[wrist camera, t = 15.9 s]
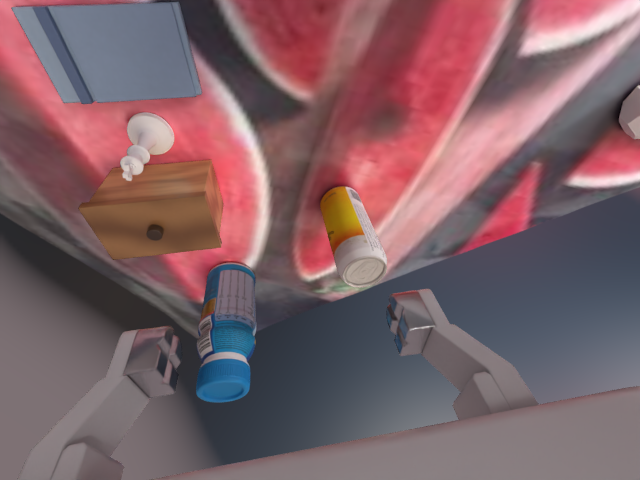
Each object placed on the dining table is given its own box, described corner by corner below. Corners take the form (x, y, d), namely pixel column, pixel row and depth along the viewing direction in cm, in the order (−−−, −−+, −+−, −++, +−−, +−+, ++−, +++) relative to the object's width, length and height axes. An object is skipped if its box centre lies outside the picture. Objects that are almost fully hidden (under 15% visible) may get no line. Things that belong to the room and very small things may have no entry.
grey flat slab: (15, 6, 27) (5, 7, 26) (179, 1, 29) (176, 2, 27) (67, 101, 32) (60, 105, 31) (202, 92, 34) (200, 96, 33)
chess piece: (173, 116, 35) (152, 156, 28) (175, 156, 38) (156, 201, 31) (124, 107, 34) (88, 147, 26) (130, 149, 37) (100, 194, 29)
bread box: (108, 165, 38) (73, 214, 30) (213, 157, 39) (203, 201, 32) (134, 214, 43) (109, 266, 35) (226, 205, 44) (220, 253, 37)
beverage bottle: (250, 256, 51) (248, 372, 37) (260, 287, 57) (262, 399, 42) (199, 264, 51) (177, 385, 36) (214, 295, 57) (200, 410, 42)
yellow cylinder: (312, 208, 47) (329, 283, 36) (333, 177, 44) (359, 248, 33) (344, 221, 50) (369, 294, 39) (365, 192, 46) (400, 262, 35)
